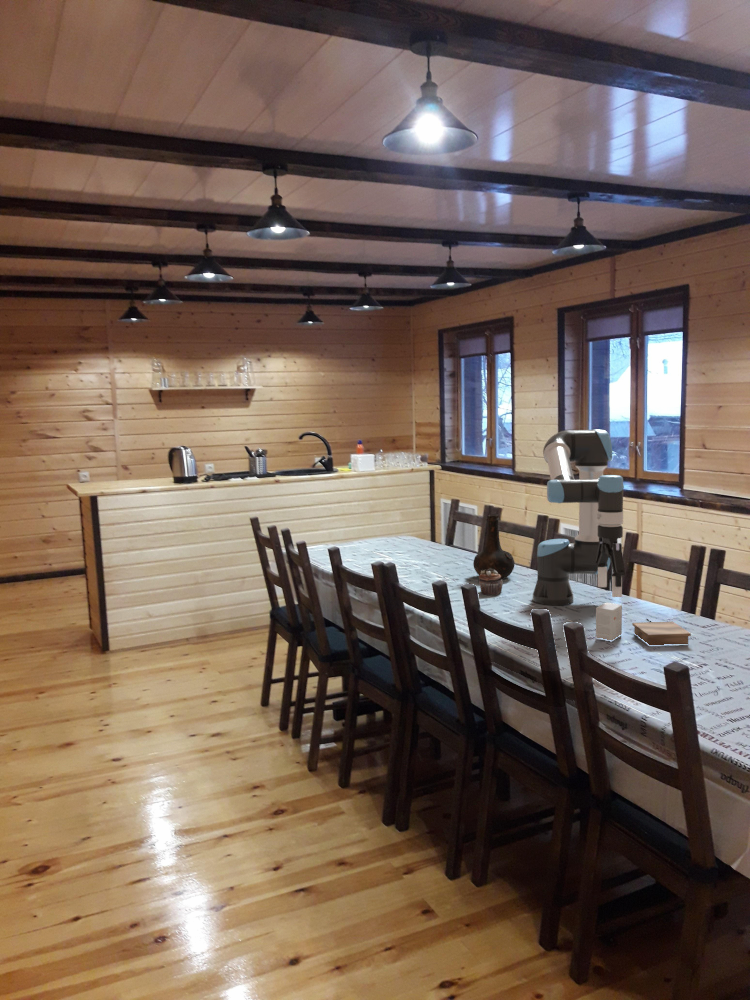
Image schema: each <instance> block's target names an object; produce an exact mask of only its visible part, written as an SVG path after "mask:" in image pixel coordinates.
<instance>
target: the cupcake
mask: <svg viewBox="0 0 750 1000" xmlns="http://www.w3.org/2000/svg"><path fill="white" fill-rule="evenodd" d="M478 578H479V579H478V583H479V588H480V593H481V594H482V595H484V596H498V594H499V595H501V594H502V589H503V585H504V579H500V578H501V575H499V574H498V572H497V571H495V569H493V570H492V568H489V569H482V571H481V574H480V575H478Z"/></svg>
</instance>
